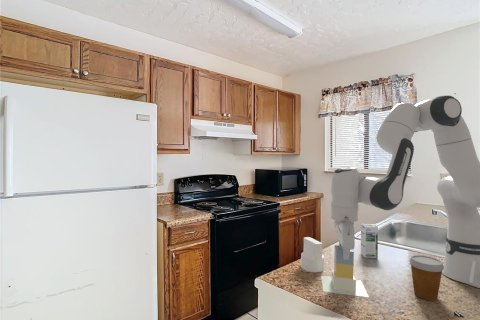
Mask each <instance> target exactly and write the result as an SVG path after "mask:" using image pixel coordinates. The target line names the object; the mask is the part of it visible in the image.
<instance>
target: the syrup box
mask: <svg viewBox="0 0 480 320" xmlns="http://www.w3.org/2000/svg"><path fill="white" fill-rule="evenodd" d="M378 249H379V227H378V226H377V225H376V224H374V223H370V224H369V223H361V224H360V255H361V256H362V257H364V259H366V258H367V259H368V258H369V259H378V258H379V255H378V254H379V250H378Z"/></svg>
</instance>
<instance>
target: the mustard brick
mask: <svg viewBox="0 0 480 320" xmlns="http://www.w3.org/2000/svg"><path fill="white" fill-rule="evenodd" d="M333 258H334V257H333ZM333 261H334V262H333V263H334V264H333V265H334V266H333V269H334V271H335V275H336V277H343V278H352V279H353V274H354V265H346V264H336V261H335V258H334V260H333Z"/></svg>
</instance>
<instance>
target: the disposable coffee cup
mask: <svg viewBox="0 0 480 320" xmlns="http://www.w3.org/2000/svg"><path fill="white" fill-rule="evenodd" d="M408 261H409V265H410V269H411V277H412V285H413V286H412V287H413V294H414V295H415V296H416V297H418V298H420V299H422V300H426V301H432V302H433V301H437V300H438V296H439V293H440V285H441V279H442V275H443V273H442V271H443V269H444V266H443V265H444V264H443V261H441V260H440V259H438V258H435V257H431V256H428V255H422V254H414V255H411V256H410V259H408Z"/></svg>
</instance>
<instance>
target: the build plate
mask: <svg viewBox="0 0 480 320" xmlns="http://www.w3.org/2000/svg"><path fill="white" fill-rule="evenodd" d="M320 277H321V278H320V279H321V284H322V291H323V292H325V293H331V294H332V293H333V294H340V295H348V296H357V297H363V298H370V297H369V294H368V292H367V290H366V288H365V286H364V285H365V284H364V283H363V281H362V280H360V279H356V292H353V291H345V290H337V289H333V284H332V276H325V275H320Z"/></svg>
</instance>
